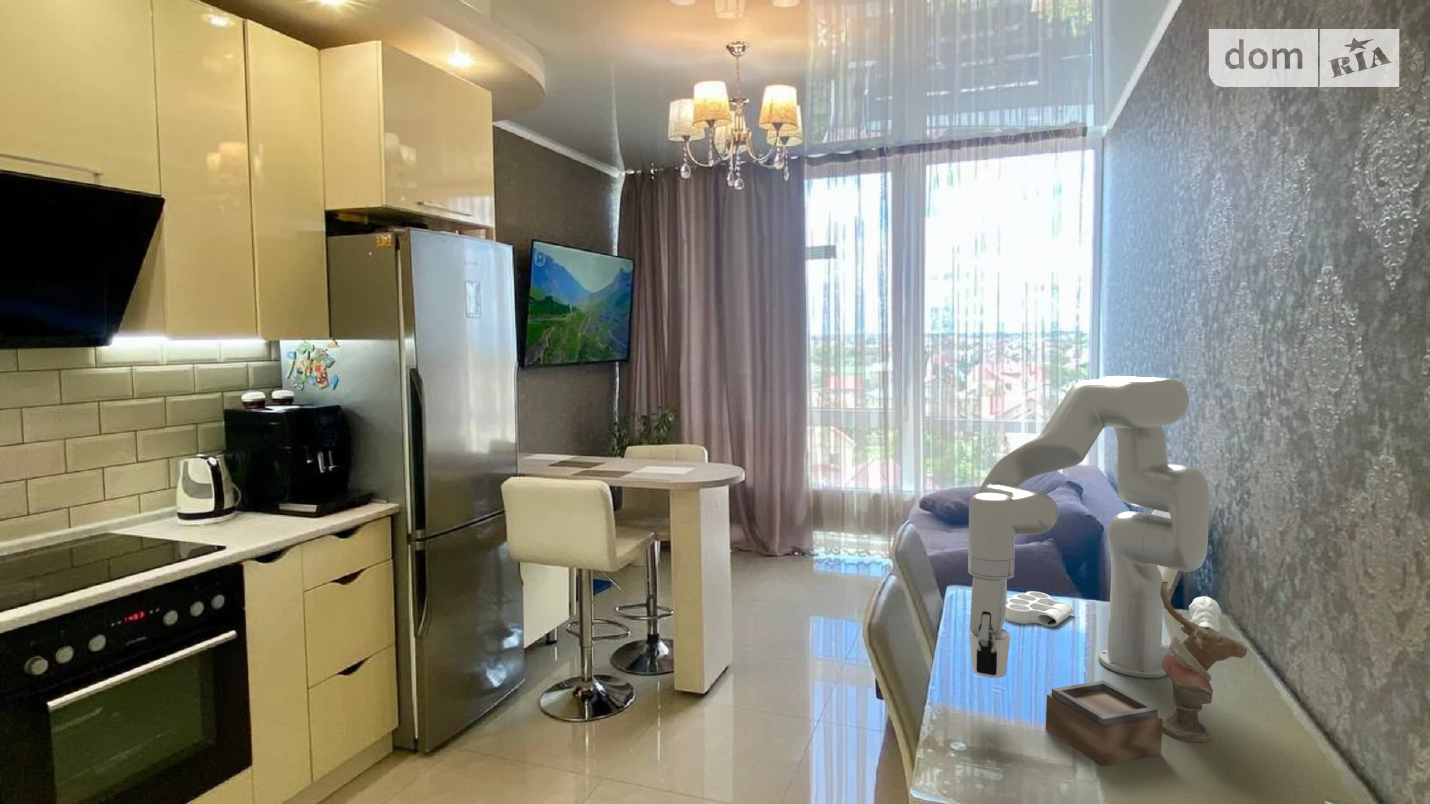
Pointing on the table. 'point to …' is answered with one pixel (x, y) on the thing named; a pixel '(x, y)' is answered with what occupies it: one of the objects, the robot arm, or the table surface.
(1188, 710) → the decorative bust
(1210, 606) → the white lumpy piece
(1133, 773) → the table surface
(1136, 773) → the table surface
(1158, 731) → the display riser
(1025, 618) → the white flat perforated piece
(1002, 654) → the white short cylinder
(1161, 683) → the table surface
